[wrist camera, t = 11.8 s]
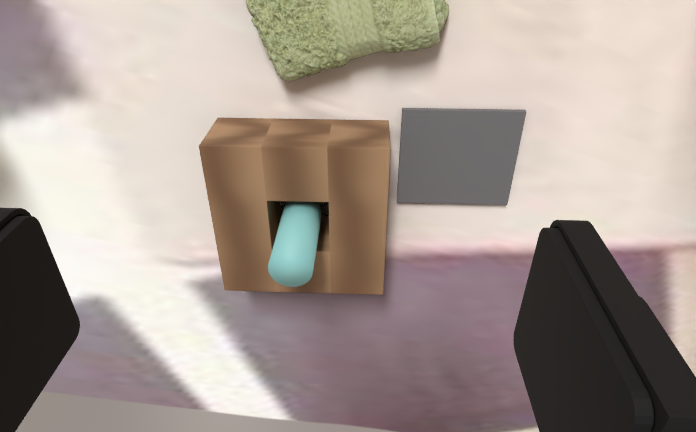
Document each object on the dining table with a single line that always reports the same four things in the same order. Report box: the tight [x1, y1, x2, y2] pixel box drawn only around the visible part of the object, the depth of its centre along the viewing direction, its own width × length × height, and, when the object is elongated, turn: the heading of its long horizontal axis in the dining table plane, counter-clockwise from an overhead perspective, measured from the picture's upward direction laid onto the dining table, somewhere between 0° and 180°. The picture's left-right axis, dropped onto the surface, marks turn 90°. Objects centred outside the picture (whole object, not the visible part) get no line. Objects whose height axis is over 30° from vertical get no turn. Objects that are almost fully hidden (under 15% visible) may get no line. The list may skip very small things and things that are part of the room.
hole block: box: [199, 118, 390, 295], centre depth 40 cm, size 13×13×5 cm
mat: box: [397, 108, 526, 205], centre depth 39 cm, size 9×8×1 cm
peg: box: [268, 201, 324, 287], centre depth 37 cm, size 3×3×10 cm
